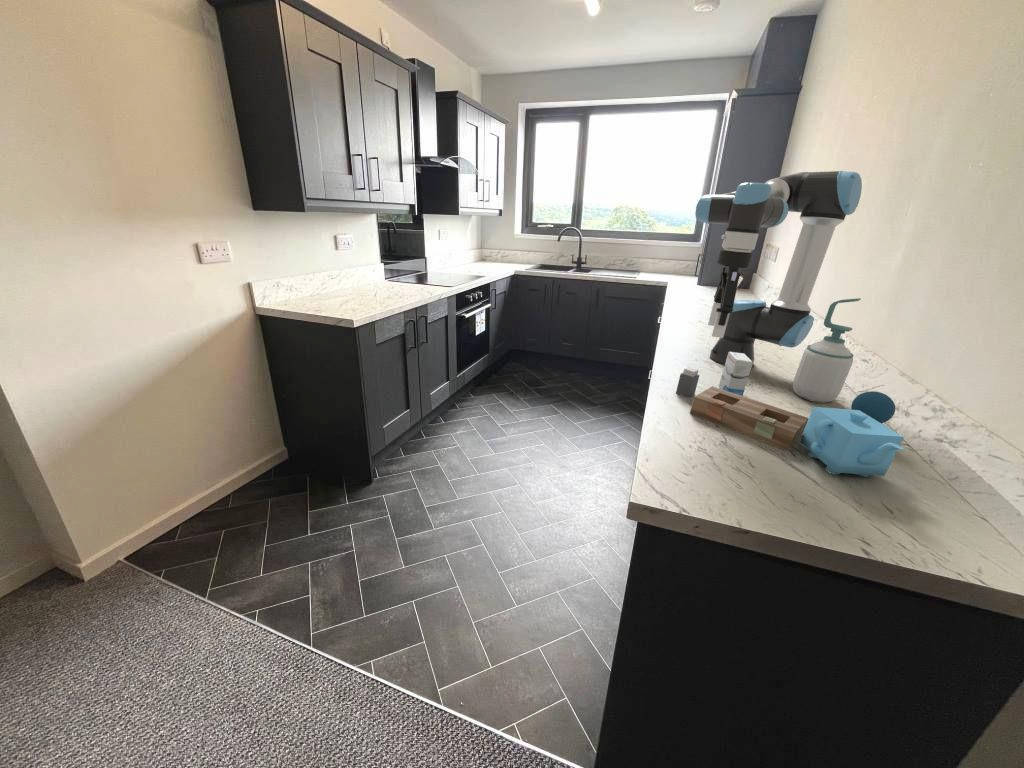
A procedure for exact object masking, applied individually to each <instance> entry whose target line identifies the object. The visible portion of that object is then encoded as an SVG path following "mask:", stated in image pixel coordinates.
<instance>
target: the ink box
mask: <svg viewBox="0 0 1024 768" xmlns="http://www.w3.org/2000/svg"><path fill="white" fill-rule="evenodd" d="M752 364H753V365H754V363H753V362H752V361H751V360H750V359H749V358H748V357H747V356H746V355H745V354H743V353H736V352H729V353H728V356H727V359H726V363H725V364H724V367H723V371H722V374H721V378H720V381H719V384H718V388H719V389H722V390H725V391H728V392H731V393H734V394H737V395H741V396H744V392H745V390H746V386H747V383H748V379H749V376H750V373H751V370H752V367H753V365H752Z"/></svg>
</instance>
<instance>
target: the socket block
mask: <svg viewBox="0 0 1024 768" xmlns="http://www.w3.org/2000/svg"><path fill="white" fill-rule="evenodd" d="M689 414H692V415H694V416H697V417H699V418H701V419H704V420H706V421H710V422H712V423H715V424H717V425H720V426H721V427H725V428H728V429H730V430H733V431H736V432H737V431H738V433H741V434H743V435H745V436H748V437H750V436H751V438H753V439H756V440H759V441H761V442H764V443H767V444H769V445H771V444H772V446H774V447H776V446H777V448H779V449H781V448H782V450H785V451H788V452H789V451H790V450H791V449H792V448H793V446H794V445H795V444H797V442H798V441H800V439H801V437H802V435H803V432H804V430H805V427H806V425H807V422H808V419H809V417H806V416H804V415H801V414H798V413H796V412H795V413H794V412H791V411H788V410H786V409H783V408H779V407H776V406H773V405H771V404H767V403H765V402H762V401H758V400H755V399H752V398H749V397H746V396H744V395H743V396H741V395H737V394H734V393H731V392H728V391H725V390H722V389H721V388H720V387H717V386H710V387H708V388H707V389H705V390H703V391H702V392H700V393H698V394H696V395H693V400H692V404H691V408H690V412H689ZM791 447H792V448H791Z"/></svg>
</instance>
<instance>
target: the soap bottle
mask: <svg viewBox="0 0 1024 768" xmlns="http://www.w3.org/2000/svg"><path fill="white" fill-rule="evenodd" d="M859 301H861V298H859V297H858V298H847V299H846V298H845V299H840V300H836V301H834V302H832V303H831V304H829V307H828V310H827V312H826V315H825V318H824V321H823V325H824V327H825V328H828V329H830V332H832V333H831V335H830V336H828V335H825V336H824V337H823V339H822V340H820V341H817V342H814V343H811V344H808V345H807V347H806V348H805V349H804V351H803V354H802V356H801V359H800V362H799V364H798V367H797V370H796V372H795V376H794V378H793V382H792V389H793V391H794V393H795V394H796V395H797V396H798V397H800V398H802V399H805V400H807V401H809V402H815V403H829V402H833V401H835V400H836V399H837V398H838V397H839V396H840V394H841V392H842V389H843V388H844V385H845V383H846V380H847V378H848V375H849V373H850V371H851V369H852V366H853V363H854V354H853V353H852V352H851V350H850V349H849V348H848V347H846V345H845V342H846V340H845V339H843V338H841V335H844V334H845V333H846V332H851V331H852V330H853V328H852V327H851V326H850V327H849V326H845V325H839V324H836V323H832V321H831V320H832V316H833V314H834V312H835V309H836V306H837V305H838V304H843V303H853V302H854V303H855V302H859Z"/></svg>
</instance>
